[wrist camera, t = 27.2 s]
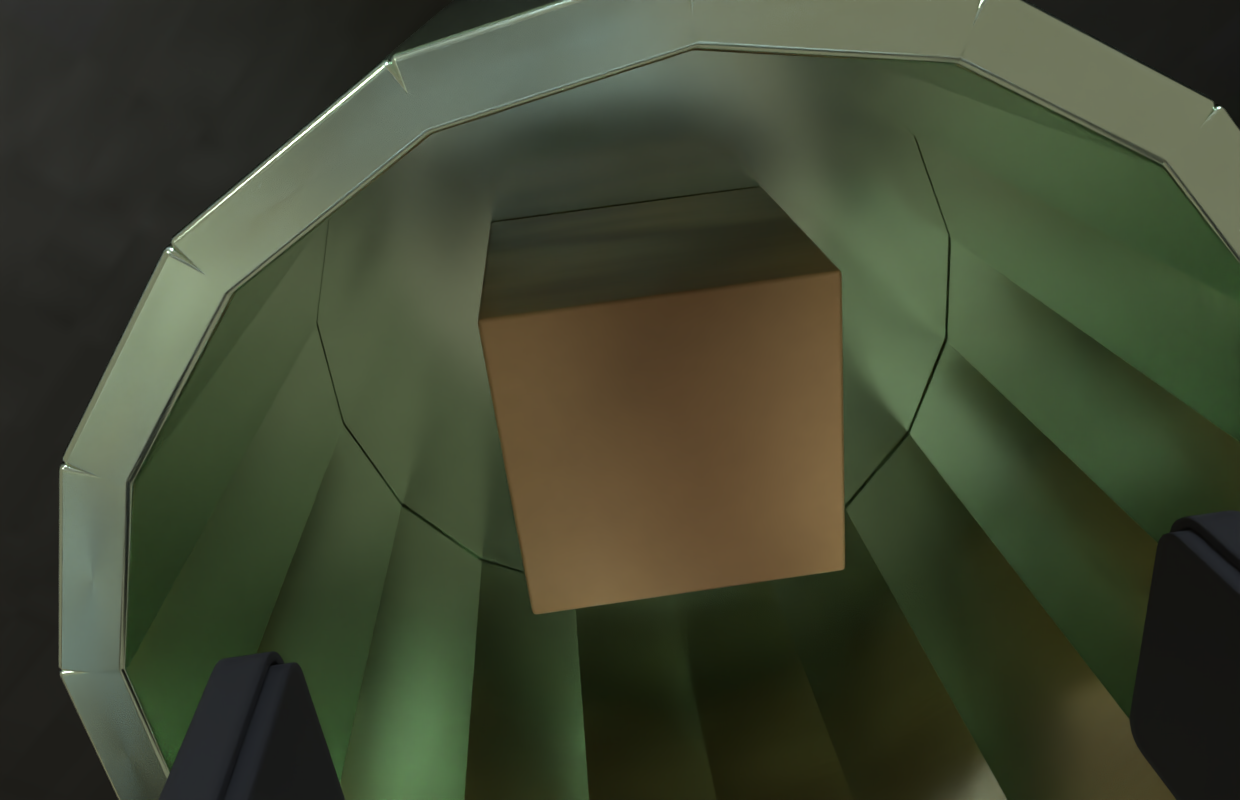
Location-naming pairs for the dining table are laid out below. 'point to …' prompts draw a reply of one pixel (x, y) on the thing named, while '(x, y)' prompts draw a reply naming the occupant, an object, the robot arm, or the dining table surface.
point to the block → (666, 397)
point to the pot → (872, 410)
